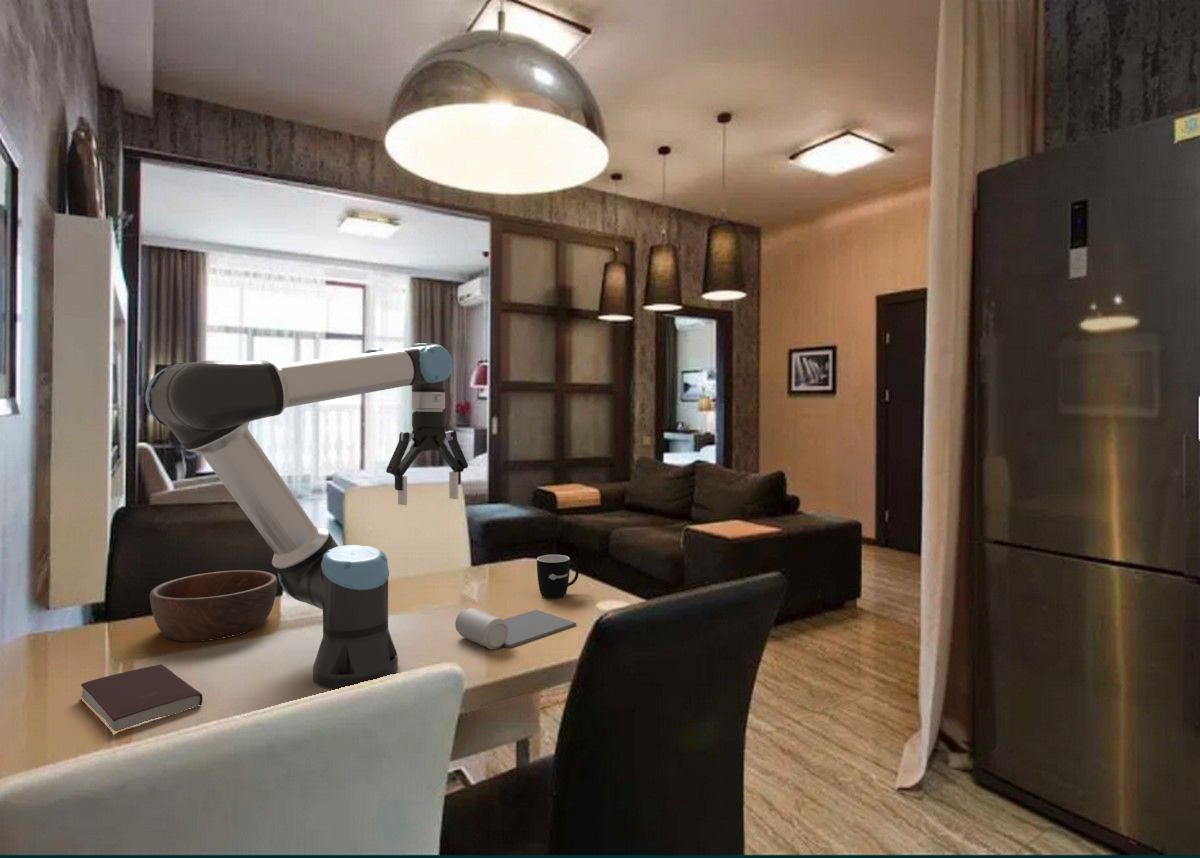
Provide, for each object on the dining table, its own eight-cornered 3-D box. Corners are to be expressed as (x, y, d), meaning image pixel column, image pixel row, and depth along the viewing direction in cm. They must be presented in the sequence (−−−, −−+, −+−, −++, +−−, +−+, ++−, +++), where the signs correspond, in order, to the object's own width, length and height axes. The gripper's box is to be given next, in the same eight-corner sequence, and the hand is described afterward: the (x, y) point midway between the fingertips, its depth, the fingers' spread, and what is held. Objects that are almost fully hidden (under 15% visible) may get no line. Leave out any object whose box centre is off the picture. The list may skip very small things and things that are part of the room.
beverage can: (510, 616, 135) (477, 603, 144) (485, 623, 131) (453, 610, 139) (510, 645, 136) (478, 631, 144) (485, 654, 131) (453, 639, 139)
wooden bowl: (207, 654, 130) (207, 604, 130) (122, 639, 138) (121, 592, 138) (301, 616, 154) (301, 574, 154) (223, 606, 162) (223, 566, 162)
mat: (508, 648, 134) (508, 645, 134) (469, 632, 144) (469, 629, 144) (575, 625, 149) (575, 622, 149) (536, 611, 158) (536, 609, 158)
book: (163, 678, 120) (163, 661, 120) (203, 708, 108) (203, 689, 107) (79, 702, 110) (78, 683, 110) (112, 738, 98) (112, 717, 98)
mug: (544, 602, 167) (544, 563, 166) (531, 593, 174) (531, 556, 174) (585, 595, 172) (585, 558, 172) (571, 587, 180) (571, 552, 180)
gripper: (387, 410, 137) (387, 509, 137) (482, 411, 155) (482, 497, 155) (370, 410, 142) (370, 505, 142) (464, 410, 160) (464, 494, 161)
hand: (429, 501), depth 149 cm, fingers open, 13 cm apart
